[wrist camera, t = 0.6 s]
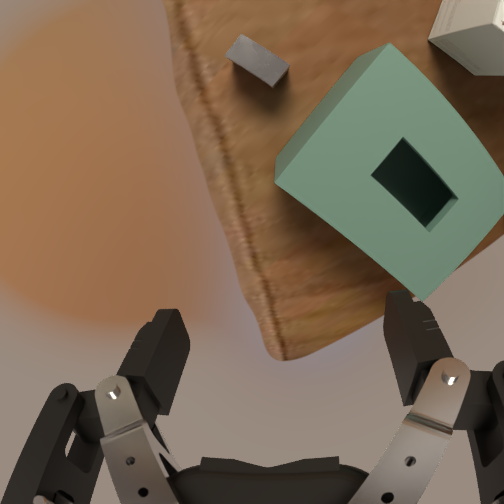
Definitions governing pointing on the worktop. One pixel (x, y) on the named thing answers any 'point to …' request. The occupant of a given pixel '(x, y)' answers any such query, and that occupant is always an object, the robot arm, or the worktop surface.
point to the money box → (395, 171)
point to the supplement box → (472, 34)
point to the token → (257, 60)
